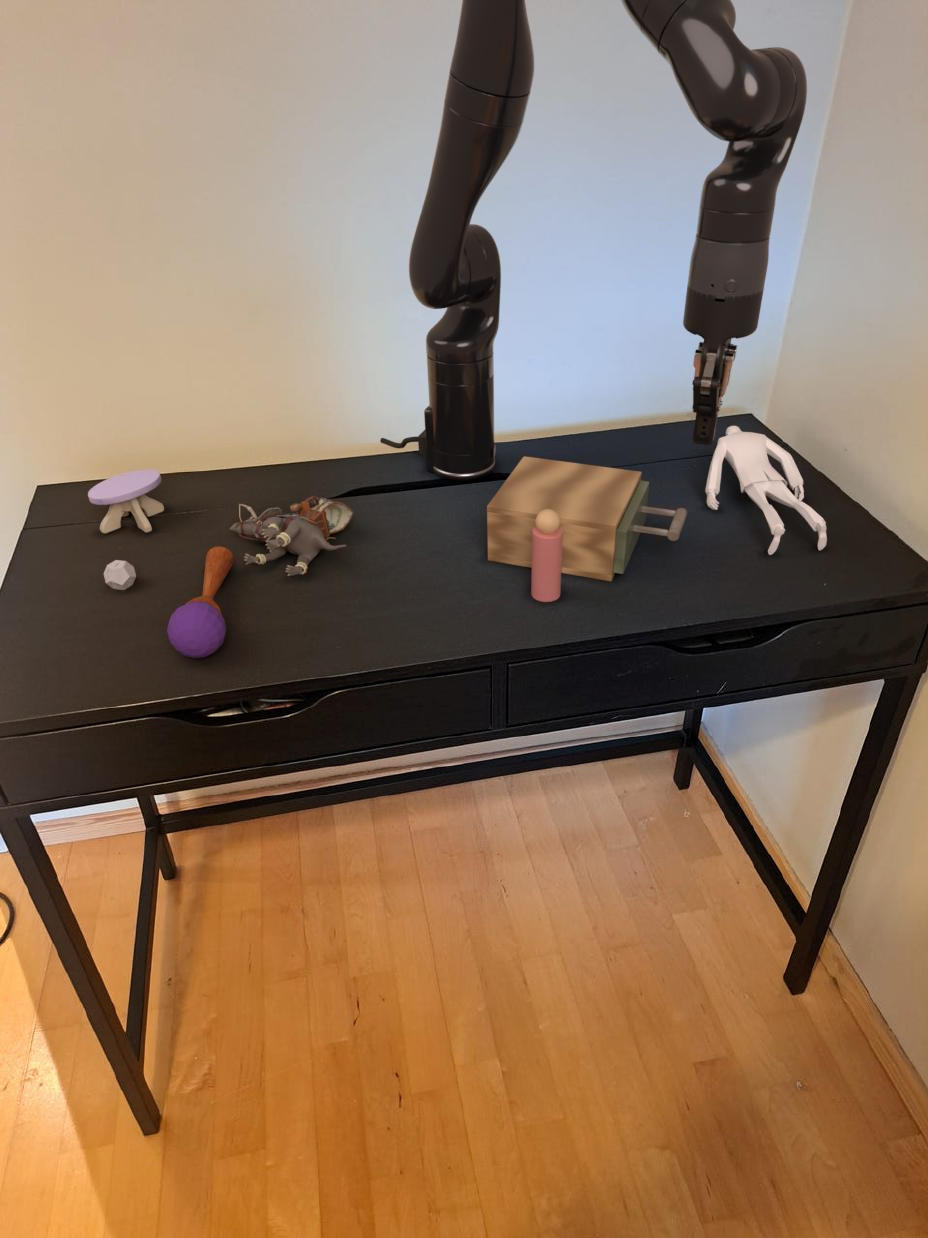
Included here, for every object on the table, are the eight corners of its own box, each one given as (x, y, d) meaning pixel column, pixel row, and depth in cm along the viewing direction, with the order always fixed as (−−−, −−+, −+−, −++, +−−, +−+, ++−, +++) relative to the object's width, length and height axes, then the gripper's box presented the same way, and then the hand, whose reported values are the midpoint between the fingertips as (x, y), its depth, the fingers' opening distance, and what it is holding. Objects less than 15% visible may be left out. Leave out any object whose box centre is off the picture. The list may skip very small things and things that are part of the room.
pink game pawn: (536, 584, 106) (537, 501, 100) (563, 589, 105) (567, 505, 99) (527, 599, 104) (528, 515, 98) (555, 604, 103) (559, 520, 97)
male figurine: (843, 560, 112) (770, 450, 130) (858, 521, 108) (780, 412, 126) (738, 569, 111) (679, 457, 129) (749, 530, 107) (686, 420, 125)
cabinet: (636, 524, 118) (641, 471, 113) (611, 581, 106) (615, 525, 102) (523, 507, 122) (523, 456, 118) (487, 560, 111) (486, 506, 107)
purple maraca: (245, 539, 109) (222, 622, 92) (244, 582, 112) (221, 670, 95) (195, 534, 108) (162, 617, 91) (195, 577, 111) (162, 666, 94)
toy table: (159, 498, 127) (150, 461, 124) (180, 523, 121) (171, 485, 118) (89, 518, 123) (78, 480, 120) (107, 545, 117) (95, 506, 114)
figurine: (191, 521, 110) (270, 467, 123) (203, 564, 114) (279, 507, 126) (327, 543, 103) (397, 483, 115) (336, 588, 106) (403, 525, 118)
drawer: (688, 528, 114) (693, 487, 111) (669, 582, 104) (675, 538, 101) (538, 505, 121) (539, 466, 117) (506, 554, 110) (506, 513, 107)
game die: (101, 592, 108) (95, 571, 106) (118, 576, 111) (112, 555, 109) (128, 595, 107) (121, 574, 105) (143, 578, 110) (138, 557, 108)
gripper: (698, 263, 97) (679, 415, 107) (677, 297, 87) (658, 461, 97) (770, 268, 94) (744, 423, 104) (757, 303, 84) (729, 471, 94)
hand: (703, 441), depth 101 cm, fingers closed
